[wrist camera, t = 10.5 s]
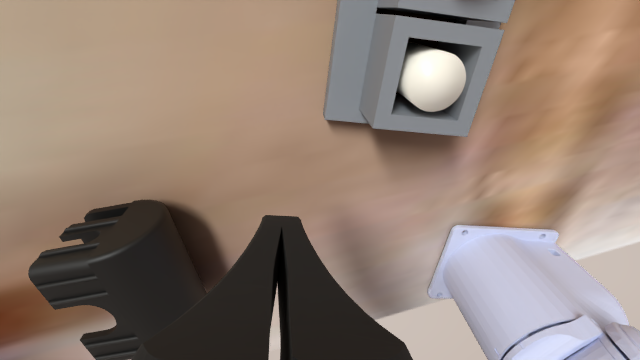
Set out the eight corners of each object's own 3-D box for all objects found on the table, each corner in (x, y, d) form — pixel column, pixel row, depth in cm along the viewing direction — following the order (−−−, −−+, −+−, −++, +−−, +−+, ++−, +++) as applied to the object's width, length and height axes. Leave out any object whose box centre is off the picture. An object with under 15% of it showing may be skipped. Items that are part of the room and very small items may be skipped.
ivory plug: (434, 45, 19) (474, 55, 15) (422, 92, 20) (455, 114, 16) (389, 39, 19) (416, 48, 15) (379, 88, 20) (402, 109, 16)
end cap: (223, 286, 27) (205, 363, 22) (141, 300, 27) (101, 381, 22) (181, 186, 23) (143, 250, 17) (82, 204, 23) (9, 274, 17)
